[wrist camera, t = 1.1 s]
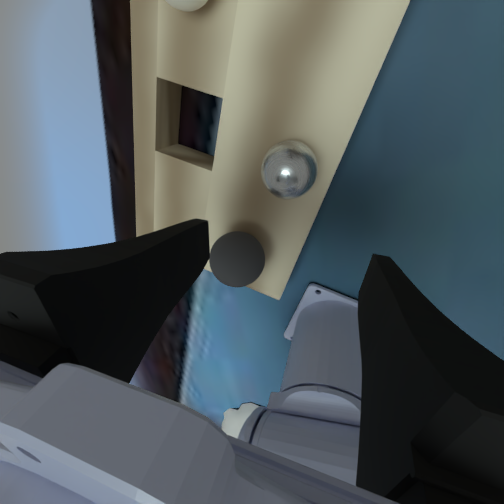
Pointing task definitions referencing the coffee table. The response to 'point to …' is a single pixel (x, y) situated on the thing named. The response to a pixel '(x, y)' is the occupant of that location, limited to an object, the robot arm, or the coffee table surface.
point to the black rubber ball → (237, 259)
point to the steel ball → (289, 169)
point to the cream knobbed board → (250, 110)
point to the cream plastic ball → (187, 4)
